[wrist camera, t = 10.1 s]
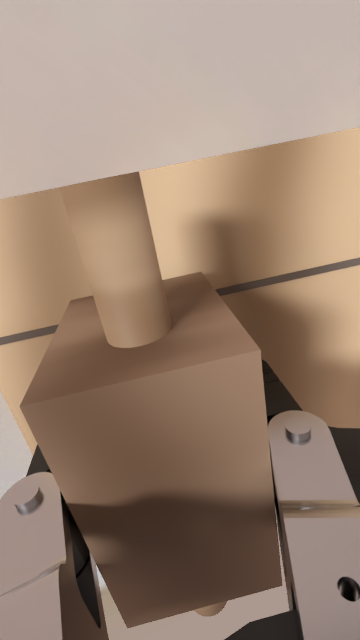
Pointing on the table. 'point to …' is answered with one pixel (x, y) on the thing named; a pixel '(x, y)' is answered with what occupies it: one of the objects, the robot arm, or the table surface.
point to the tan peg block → (155, 421)
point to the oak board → (217, 263)
